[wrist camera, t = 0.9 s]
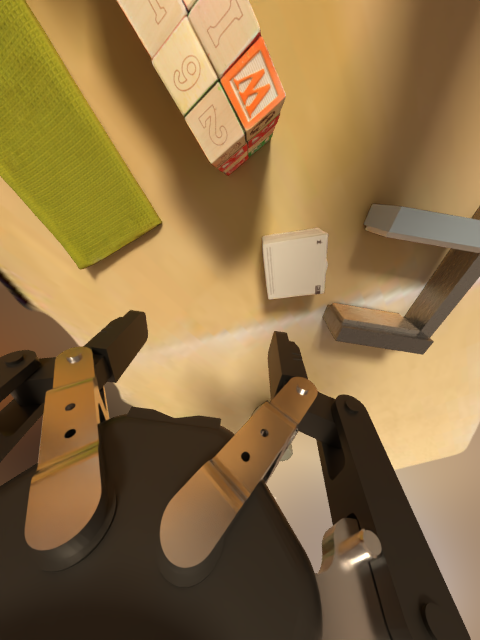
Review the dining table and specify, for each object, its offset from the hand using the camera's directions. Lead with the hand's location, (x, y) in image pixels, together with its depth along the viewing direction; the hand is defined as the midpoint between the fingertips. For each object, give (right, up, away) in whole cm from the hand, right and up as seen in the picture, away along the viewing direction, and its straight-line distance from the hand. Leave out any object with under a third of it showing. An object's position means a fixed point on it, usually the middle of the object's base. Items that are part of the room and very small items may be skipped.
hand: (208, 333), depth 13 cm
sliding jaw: (+24, +13, +14) cm, 31 cm away
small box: (+9, +10, +18) cm, 22 cm away
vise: (+25, +8, +17) cm, 31 cm away
